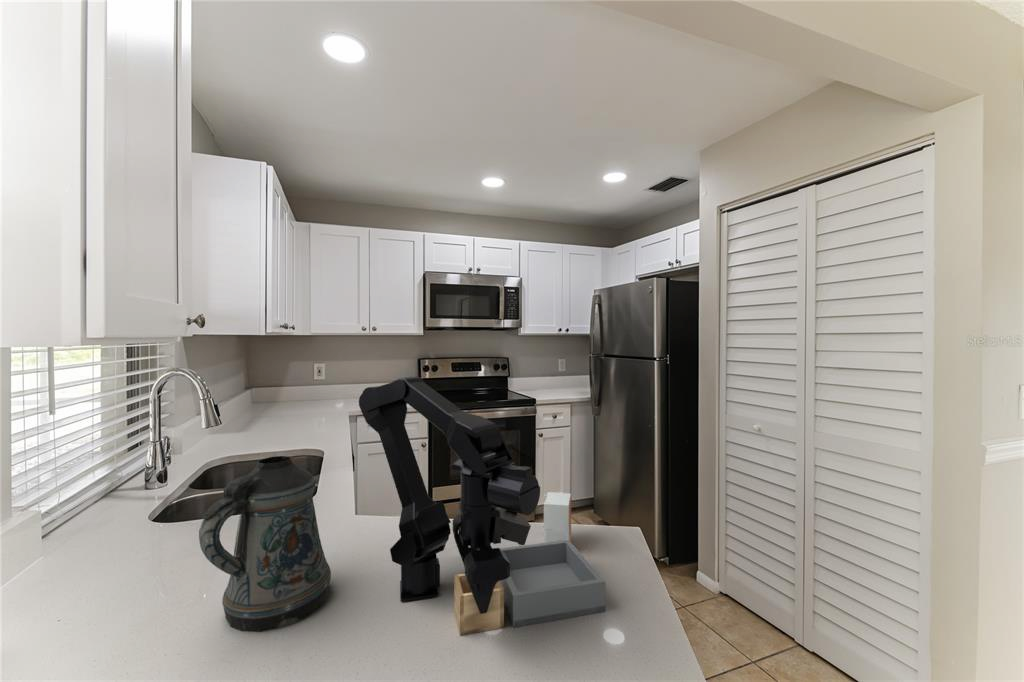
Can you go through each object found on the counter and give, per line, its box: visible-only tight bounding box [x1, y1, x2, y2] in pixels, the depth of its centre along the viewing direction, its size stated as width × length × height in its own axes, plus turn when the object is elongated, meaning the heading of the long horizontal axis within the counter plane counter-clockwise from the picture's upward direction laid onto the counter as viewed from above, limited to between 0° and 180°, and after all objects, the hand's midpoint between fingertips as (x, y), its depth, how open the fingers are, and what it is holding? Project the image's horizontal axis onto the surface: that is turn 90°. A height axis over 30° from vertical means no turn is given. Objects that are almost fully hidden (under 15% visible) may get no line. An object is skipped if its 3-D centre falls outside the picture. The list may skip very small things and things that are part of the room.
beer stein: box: [198, 455, 332, 633], centre depth 74 cm, size 16×19×25 cm
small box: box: [543, 491, 572, 543], centre depth 96 cm, size 8×6×10 cm
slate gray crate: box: [499, 540, 606, 628], centre depth 78 cm, size 16×16×5 cm
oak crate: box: [453, 573, 505, 636], centre depth 70 cm, size 7×6×6 cm
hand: (477, 595), depth 70 cm, fingers open, 9 cm apart
